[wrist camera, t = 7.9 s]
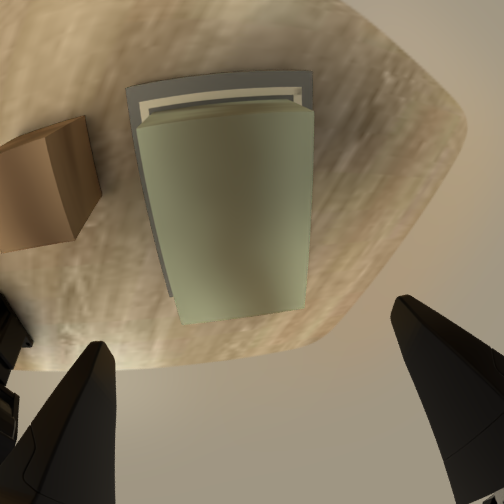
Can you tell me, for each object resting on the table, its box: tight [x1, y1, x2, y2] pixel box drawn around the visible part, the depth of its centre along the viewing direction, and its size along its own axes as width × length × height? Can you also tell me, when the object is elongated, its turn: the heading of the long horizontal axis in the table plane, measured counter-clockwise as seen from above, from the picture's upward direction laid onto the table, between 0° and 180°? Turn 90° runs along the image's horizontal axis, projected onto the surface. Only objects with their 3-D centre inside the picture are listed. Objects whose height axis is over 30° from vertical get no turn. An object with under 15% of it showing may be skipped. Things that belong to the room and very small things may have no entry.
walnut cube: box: [0, 115, 102, 254], centre depth 13 cm, size 5×5×5 cm
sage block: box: [136, 99, 314, 325], centre depth 15 cm, size 6×10×4 cm, turn 3°
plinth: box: [125, 70, 313, 297], centre depth 17 cm, size 9×13×2 cm
